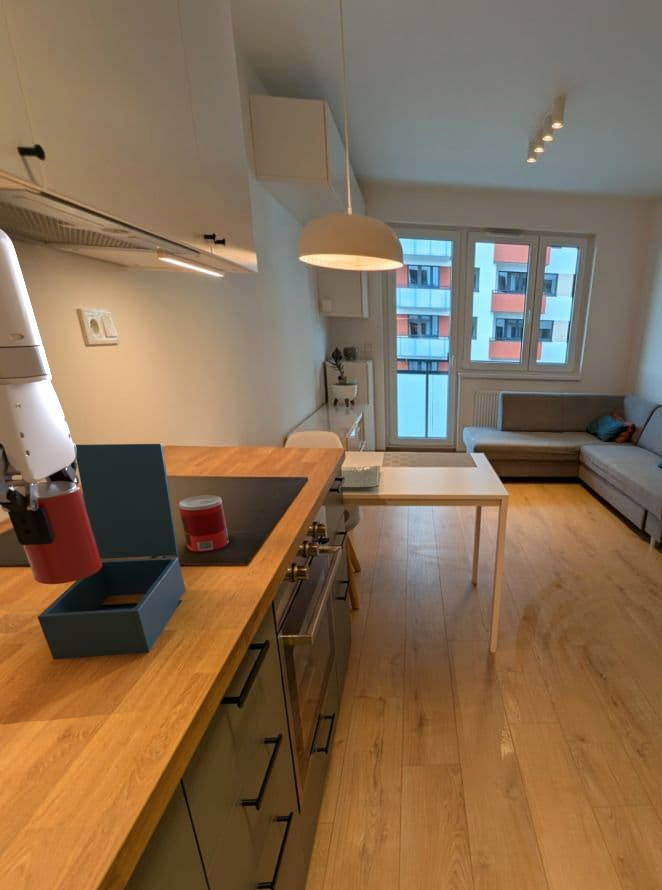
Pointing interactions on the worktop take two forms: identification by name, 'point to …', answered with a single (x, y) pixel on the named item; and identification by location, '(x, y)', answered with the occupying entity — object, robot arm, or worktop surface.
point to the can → (63, 536)
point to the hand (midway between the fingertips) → (55, 529)
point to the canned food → (204, 523)
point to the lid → (127, 499)
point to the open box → (114, 609)
